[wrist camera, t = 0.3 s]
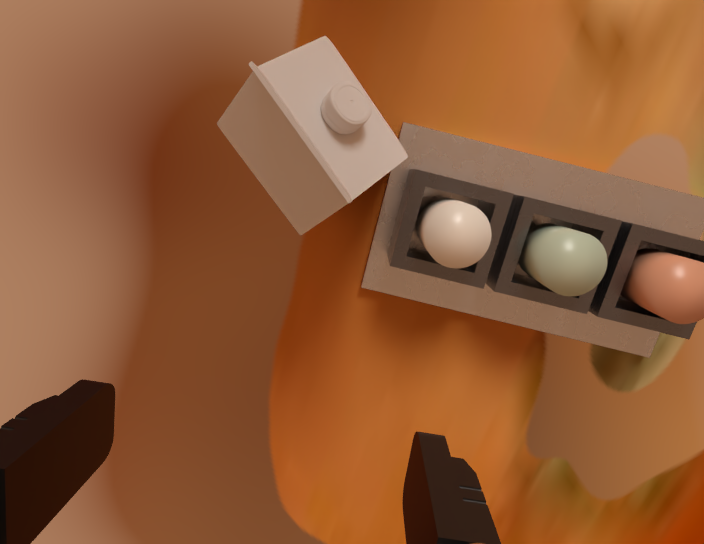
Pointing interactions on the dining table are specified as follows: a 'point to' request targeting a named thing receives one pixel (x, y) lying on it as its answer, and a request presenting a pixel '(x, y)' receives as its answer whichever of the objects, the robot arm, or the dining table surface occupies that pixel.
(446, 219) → the cream white egg
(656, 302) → the brown egg
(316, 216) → the milk carton
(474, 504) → the robot arm
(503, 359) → the dining table surface
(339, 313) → the dining table surface
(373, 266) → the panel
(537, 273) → the pale green egg
